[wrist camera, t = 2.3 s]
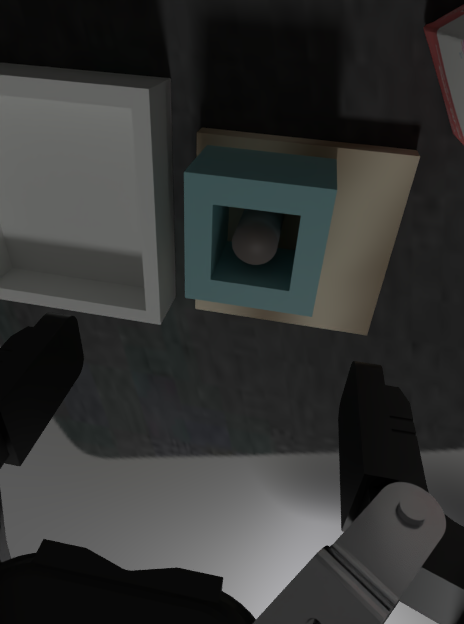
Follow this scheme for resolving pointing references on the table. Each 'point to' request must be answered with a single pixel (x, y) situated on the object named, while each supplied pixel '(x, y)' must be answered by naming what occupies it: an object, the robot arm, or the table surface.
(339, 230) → the peg board
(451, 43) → the ink cartridge box
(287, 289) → the teal hollow block
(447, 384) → the table surface
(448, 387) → the table surface
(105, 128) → the tray
